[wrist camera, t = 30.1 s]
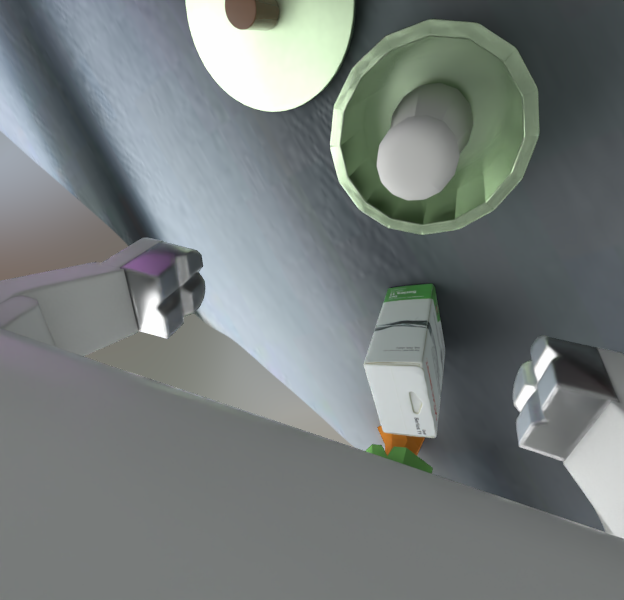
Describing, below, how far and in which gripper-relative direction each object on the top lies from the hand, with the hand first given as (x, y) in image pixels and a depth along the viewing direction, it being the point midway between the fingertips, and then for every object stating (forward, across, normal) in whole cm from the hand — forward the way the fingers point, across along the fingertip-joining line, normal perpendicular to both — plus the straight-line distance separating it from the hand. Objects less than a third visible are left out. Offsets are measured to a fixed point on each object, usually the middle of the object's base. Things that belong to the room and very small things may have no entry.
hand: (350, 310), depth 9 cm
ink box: (+27, +3, -19) cm, 33 cm away
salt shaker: (+27, 0, 0) cm, 27 cm away
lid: (+26, -14, +6) cm, 31 cm away
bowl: (+27, 0, 0) cm, 27 cm away
